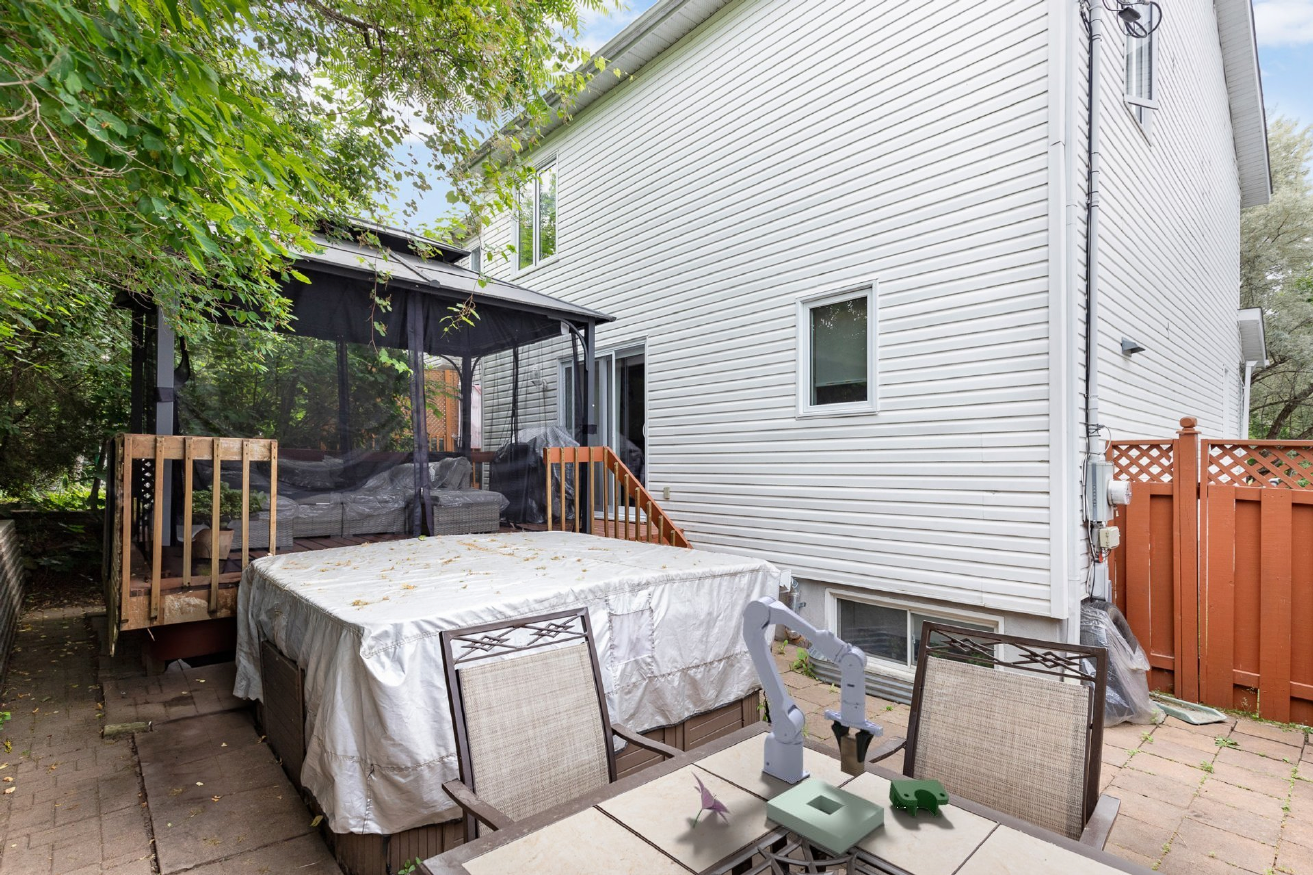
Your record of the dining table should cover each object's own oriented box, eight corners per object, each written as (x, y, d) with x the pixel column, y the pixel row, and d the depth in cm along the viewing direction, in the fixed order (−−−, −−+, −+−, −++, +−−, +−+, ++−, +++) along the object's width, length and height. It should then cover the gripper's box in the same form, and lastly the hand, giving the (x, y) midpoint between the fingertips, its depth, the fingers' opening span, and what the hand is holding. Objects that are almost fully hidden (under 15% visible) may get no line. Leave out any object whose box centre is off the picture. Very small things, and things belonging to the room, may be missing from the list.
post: (840, 771, 149) (840, 737, 150) (849, 766, 152) (849, 732, 153) (855, 777, 146) (856, 742, 147) (864, 772, 149) (864, 738, 150)
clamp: (906, 835, 138) (895, 803, 137) (894, 814, 144) (883, 783, 142) (957, 816, 138) (946, 783, 137) (943, 796, 144) (932, 764, 142)
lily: (730, 849, 126) (746, 799, 130) (677, 823, 127) (695, 774, 130) (718, 836, 137) (734, 790, 141) (670, 812, 138) (686, 767, 141)
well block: (766, 818, 136) (766, 802, 136) (812, 792, 148) (812, 776, 148) (840, 856, 122) (840, 838, 123) (884, 824, 135) (884, 807, 135)
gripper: (817, 695, 153) (817, 752, 152) (872, 713, 142) (872, 774, 141) (833, 689, 158) (832, 744, 157) (887, 706, 147) (887, 765, 146)
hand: (852, 758), depth 149 cm, fingers closed on post, 4 cm apart
